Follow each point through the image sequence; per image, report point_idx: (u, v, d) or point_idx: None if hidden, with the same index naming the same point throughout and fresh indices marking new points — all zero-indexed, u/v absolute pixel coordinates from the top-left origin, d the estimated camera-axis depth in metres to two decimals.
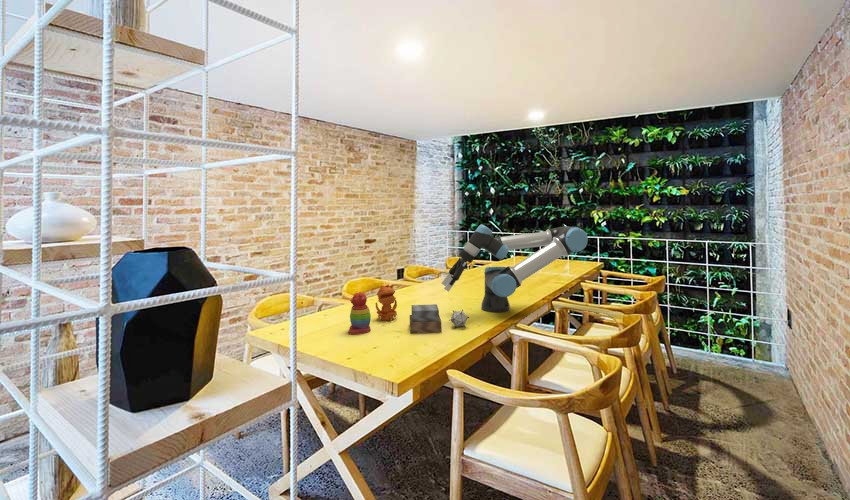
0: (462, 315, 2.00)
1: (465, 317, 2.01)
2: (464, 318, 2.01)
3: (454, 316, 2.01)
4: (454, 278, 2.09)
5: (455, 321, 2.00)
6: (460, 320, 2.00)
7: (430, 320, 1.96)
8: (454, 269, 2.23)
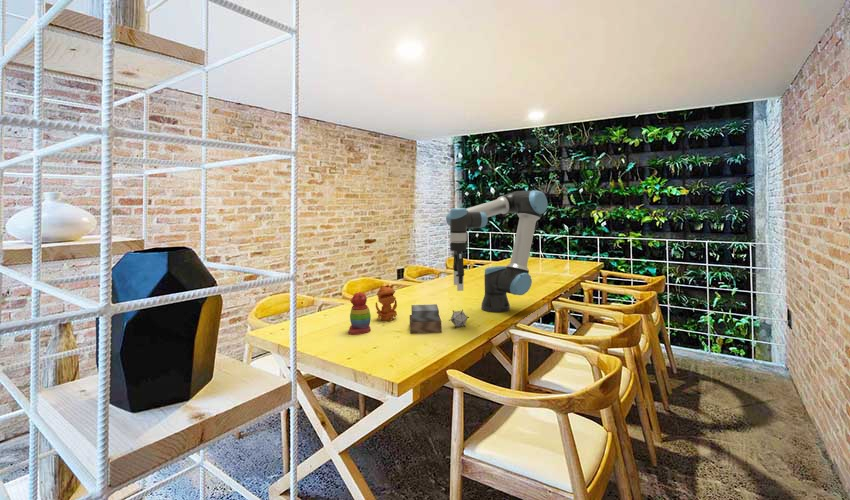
0: (462, 315, 2.00)
1: (465, 317, 2.01)
2: (464, 318, 2.01)
3: (454, 316, 2.01)
4: (459, 275, 1.91)
5: (455, 321, 2.00)
6: (460, 320, 2.00)
7: (430, 320, 1.96)
8: (456, 264, 2.05)
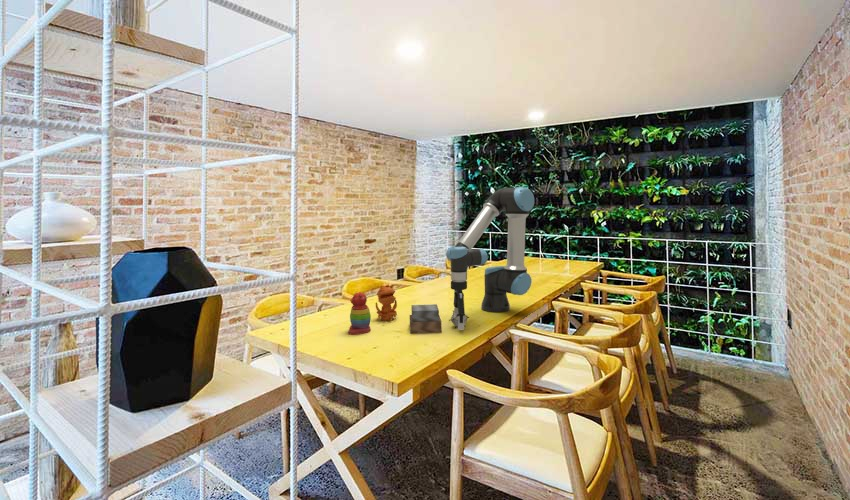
0: None
1: (465, 317, 2.01)
2: (464, 318, 2.01)
3: (454, 316, 2.01)
4: (460, 315, 1.93)
5: (455, 321, 2.00)
6: None
7: (430, 320, 1.96)
8: (457, 302, 2.07)
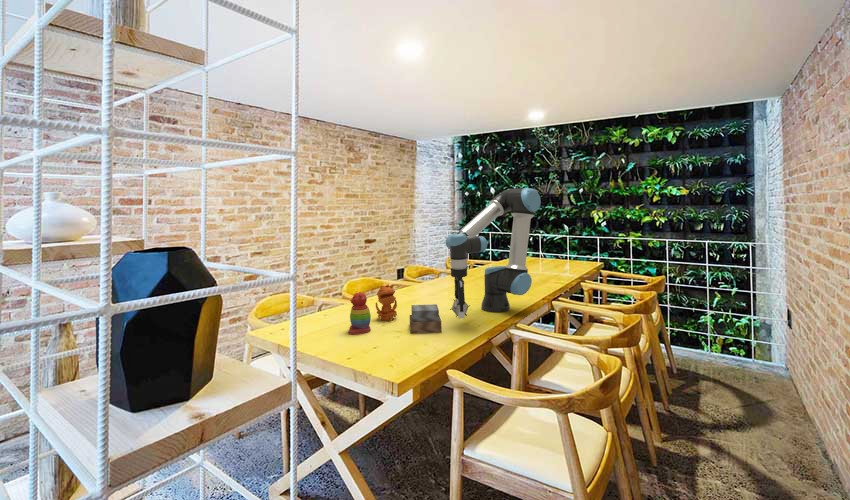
0: None
1: (466, 306, 2.01)
2: (465, 307, 2.00)
3: (455, 305, 2.00)
4: (460, 304, 1.95)
5: (456, 310, 2.00)
6: None
7: (430, 320, 1.96)
8: (457, 291, 2.05)
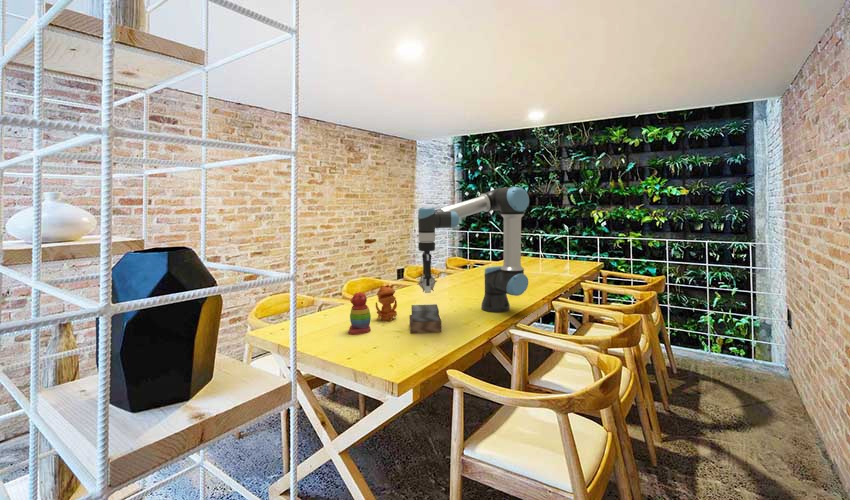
0: None
1: (433, 280, 1.97)
2: (432, 281, 1.97)
3: (422, 279, 1.97)
4: (426, 278, 1.91)
5: (423, 284, 1.96)
6: None
7: (430, 320, 1.96)
8: None
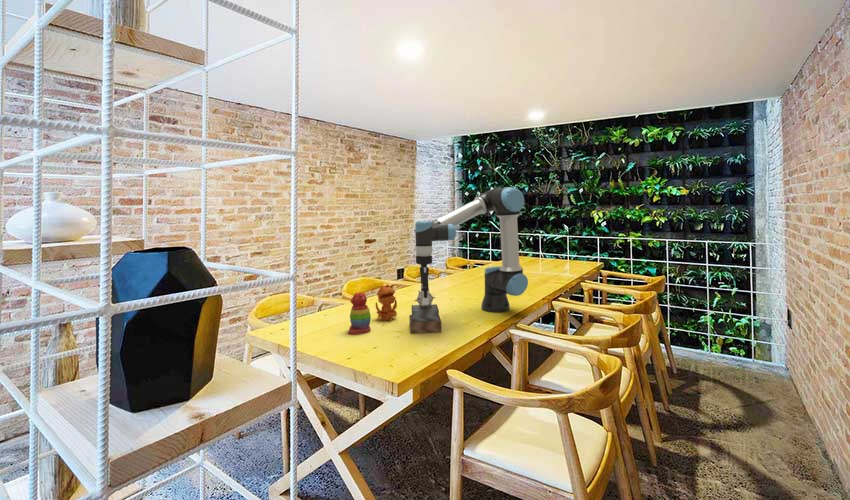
0: None
1: (431, 297, 1.98)
2: (430, 298, 1.98)
3: (419, 296, 1.98)
4: (424, 290, 1.90)
5: (420, 301, 1.97)
6: None
7: (430, 320, 1.96)
8: None
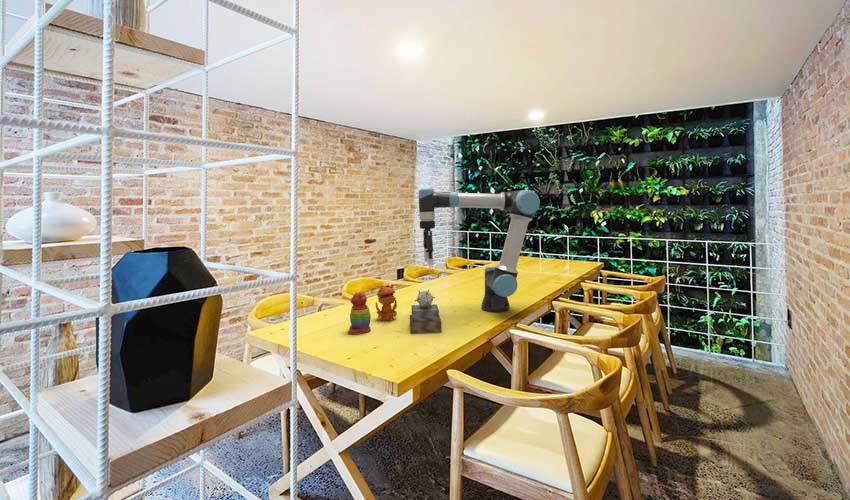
0: (427, 295, 1.98)
1: (431, 297, 1.98)
2: (430, 298, 1.98)
3: (419, 296, 1.98)
4: (429, 251, 2.05)
5: (420, 301, 1.97)
6: (425, 300, 1.97)
7: (430, 320, 1.96)
8: (426, 242, 2.19)
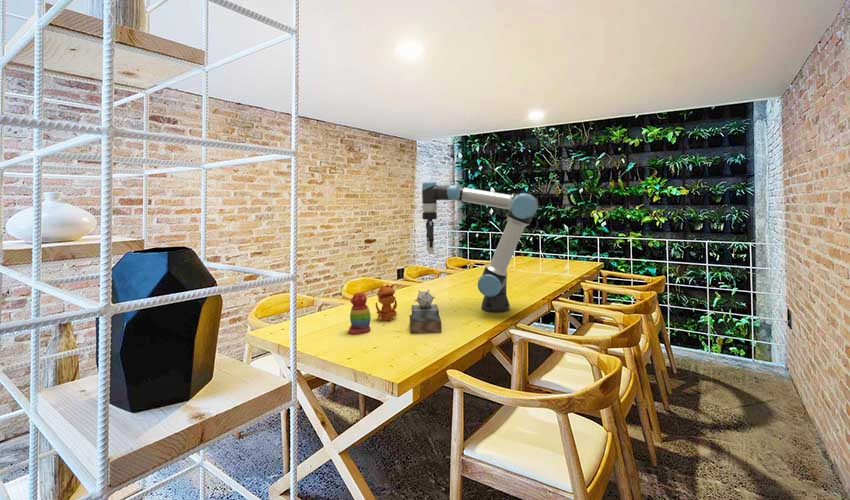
0: (427, 295, 1.98)
1: (431, 297, 1.98)
2: (430, 298, 1.98)
3: (419, 296, 1.98)
4: (430, 240, 2.20)
5: (420, 301, 1.97)
6: (425, 300, 1.97)
7: (430, 320, 1.96)
8: (428, 232, 2.33)
